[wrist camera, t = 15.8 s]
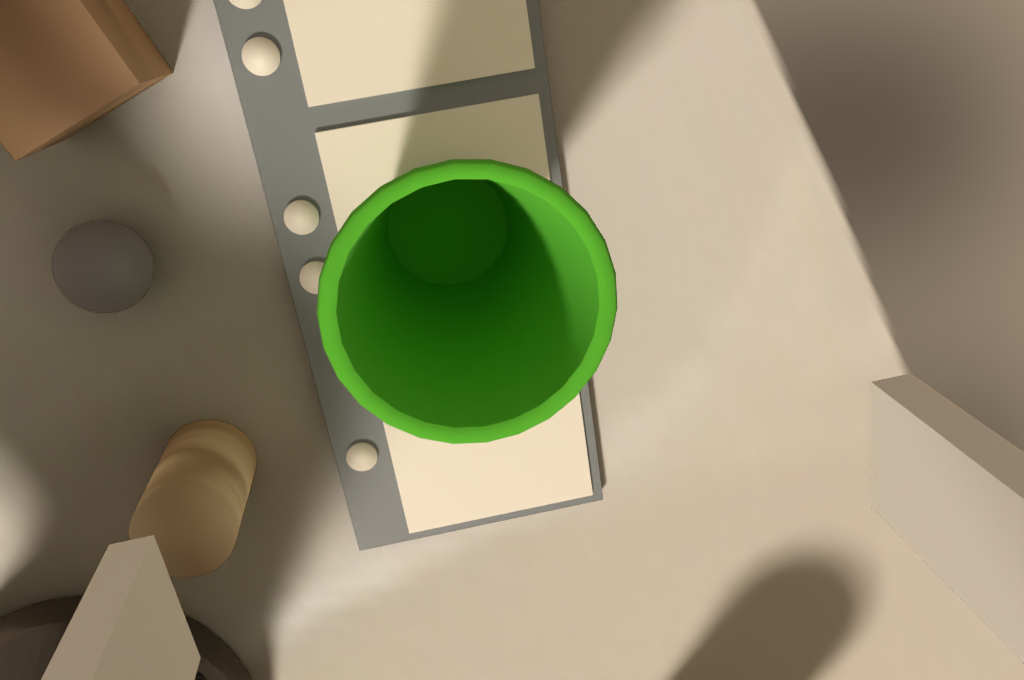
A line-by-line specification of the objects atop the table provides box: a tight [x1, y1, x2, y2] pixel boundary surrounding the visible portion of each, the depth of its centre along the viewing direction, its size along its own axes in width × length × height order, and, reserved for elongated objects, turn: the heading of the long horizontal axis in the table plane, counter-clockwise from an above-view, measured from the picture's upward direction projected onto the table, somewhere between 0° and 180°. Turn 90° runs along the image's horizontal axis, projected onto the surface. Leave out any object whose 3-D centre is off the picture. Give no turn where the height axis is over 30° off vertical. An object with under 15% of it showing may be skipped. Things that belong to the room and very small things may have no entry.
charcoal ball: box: [52, 220, 154, 313], centre depth 33 cm, size 4×4×4 cm
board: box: [214, 0, 603, 551], centre depth 36 cm, size 12×30×1 cm, turn 9°
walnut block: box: [0, 0, 173, 161], centre depth 30 cm, size 5×5×5 cm
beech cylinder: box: [129, 420, 257, 578], centre depth 36 cm, size 4×4×6 cm
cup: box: [316, 159, 617, 444], centre depth 31 cm, size 9×9×11 cm
